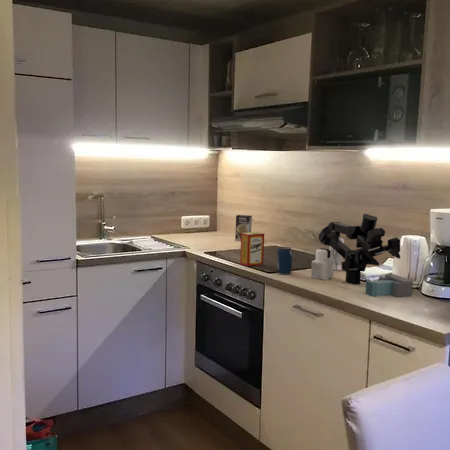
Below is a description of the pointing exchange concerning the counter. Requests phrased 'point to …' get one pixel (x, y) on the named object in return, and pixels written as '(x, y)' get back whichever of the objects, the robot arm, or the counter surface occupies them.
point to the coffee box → (242, 225)
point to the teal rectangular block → (379, 287)
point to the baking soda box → (252, 248)
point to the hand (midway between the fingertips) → (389, 260)
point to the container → (322, 265)
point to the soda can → (284, 260)
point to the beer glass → (336, 258)
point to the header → (399, 285)
